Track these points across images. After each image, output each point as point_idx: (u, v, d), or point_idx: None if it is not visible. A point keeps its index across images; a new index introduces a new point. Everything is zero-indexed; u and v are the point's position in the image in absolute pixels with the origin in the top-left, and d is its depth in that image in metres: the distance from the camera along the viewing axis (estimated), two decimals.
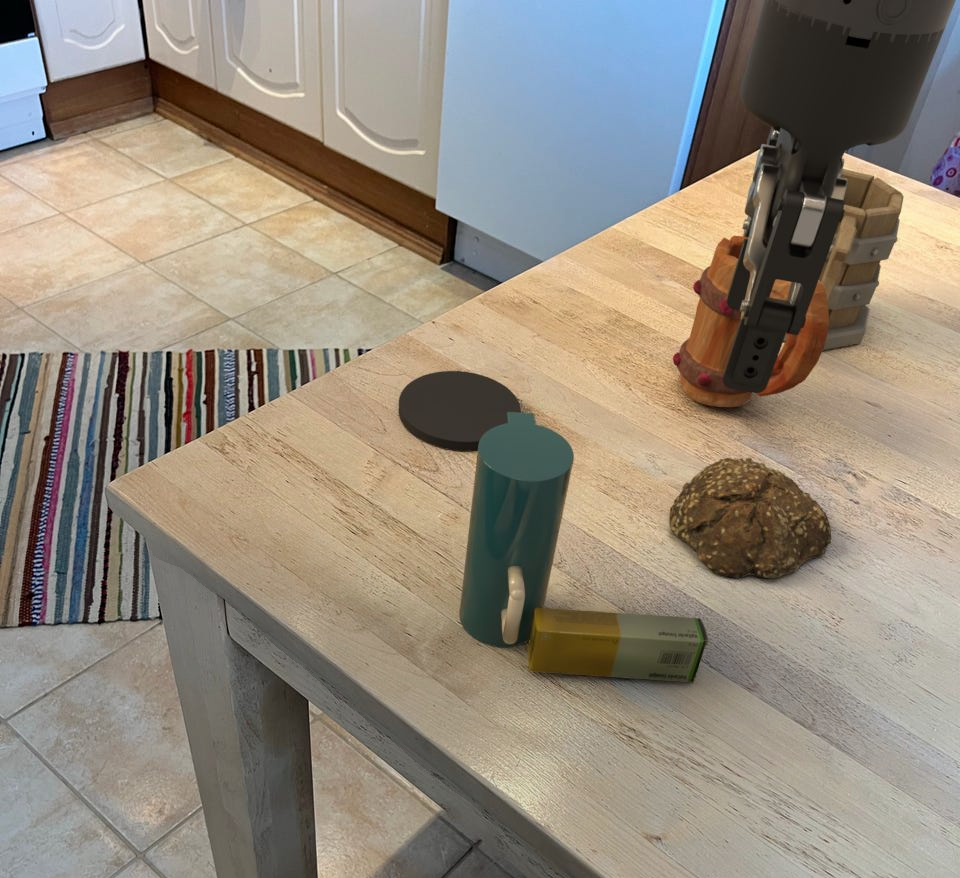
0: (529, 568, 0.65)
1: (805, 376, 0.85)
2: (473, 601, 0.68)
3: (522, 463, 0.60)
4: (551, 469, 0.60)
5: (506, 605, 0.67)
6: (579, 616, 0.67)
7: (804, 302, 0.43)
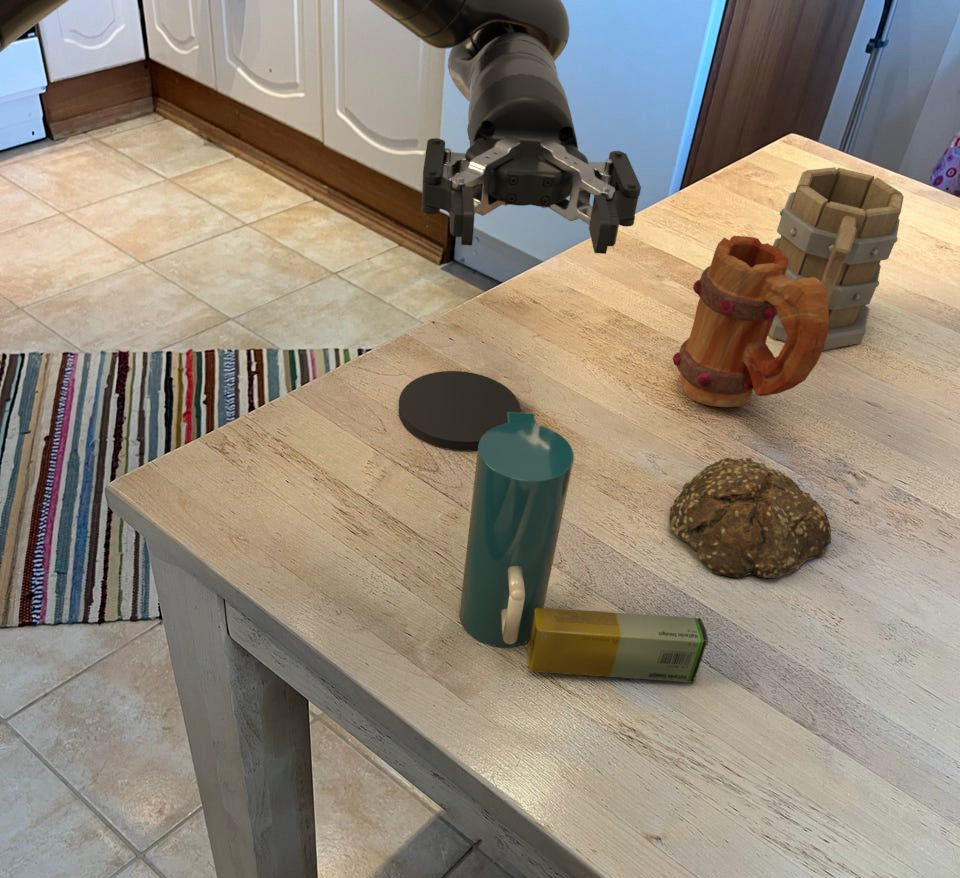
0: (529, 568, 0.65)
1: (805, 376, 0.85)
2: (473, 601, 0.68)
3: (522, 463, 0.60)
4: (551, 469, 0.60)
5: (506, 605, 0.67)
6: (579, 616, 0.67)
7: None
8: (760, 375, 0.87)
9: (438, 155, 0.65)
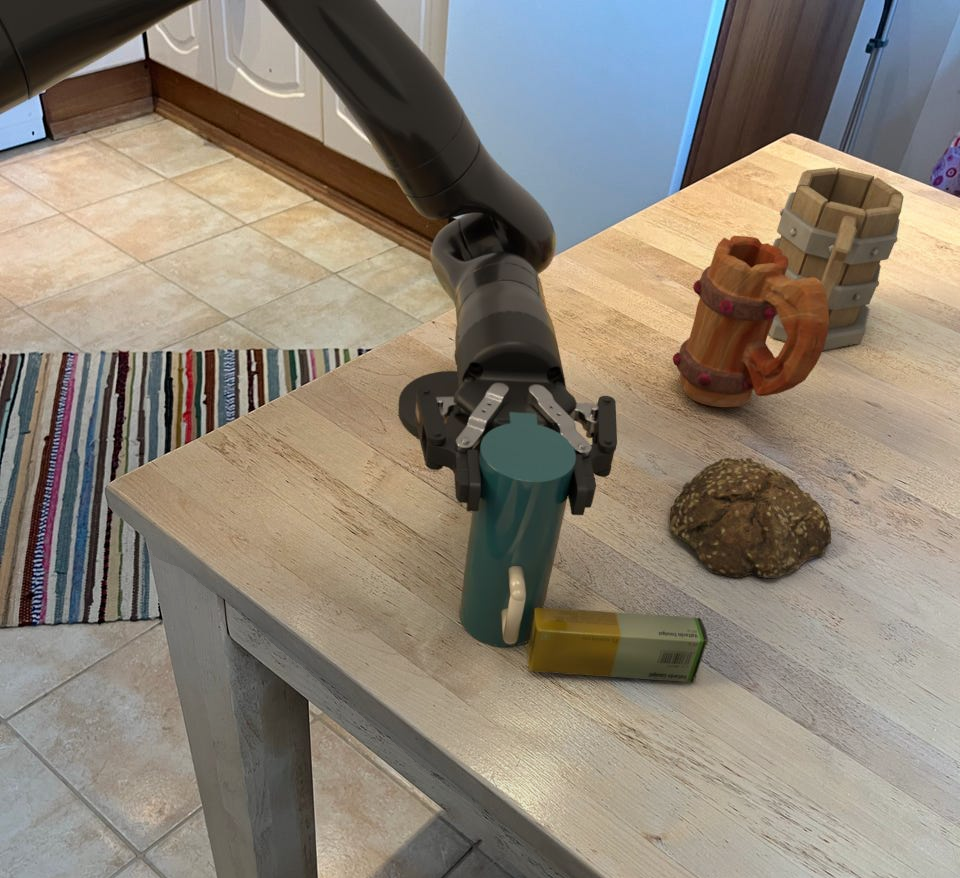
0: (530, 568, 0.65)
1: (805, 376, 0.85)
2: (474, 601, 0.68)
3: (524, 463, 0.60)
4: (553, 470, 0.60)
5: (506, 605, 0.67)
6: (579, 616, 0.67)
7: None
8: (760, 375, 0.87)
9: (434, 409, 0.64)
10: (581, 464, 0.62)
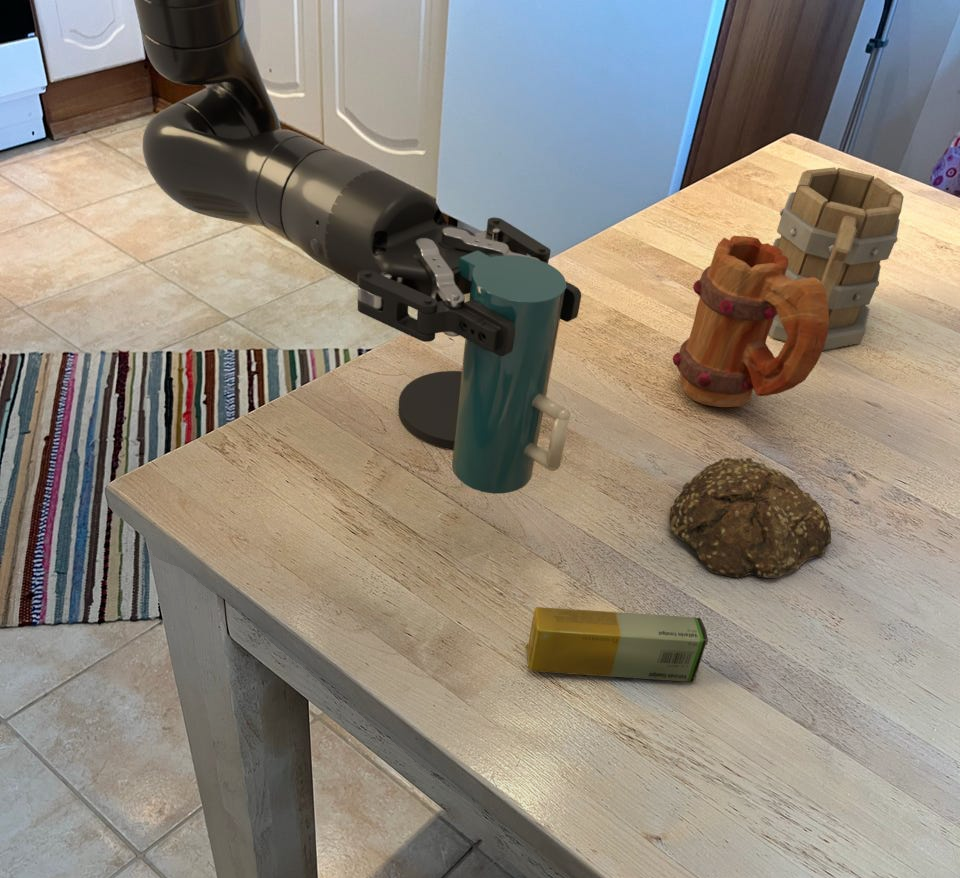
0: (545, 392, 0.67)
1: (805, 376, 0.85)
2: (495, 454, 0.68)
3: (531, 287, 0.61)
4: (555, 282, 0.62)
5: (528, 441, 0.68)
6: (579, 616, 0.67)
7: None
8: (760, 375, 0.87)
9: (395, 284, 0.61)
10: None
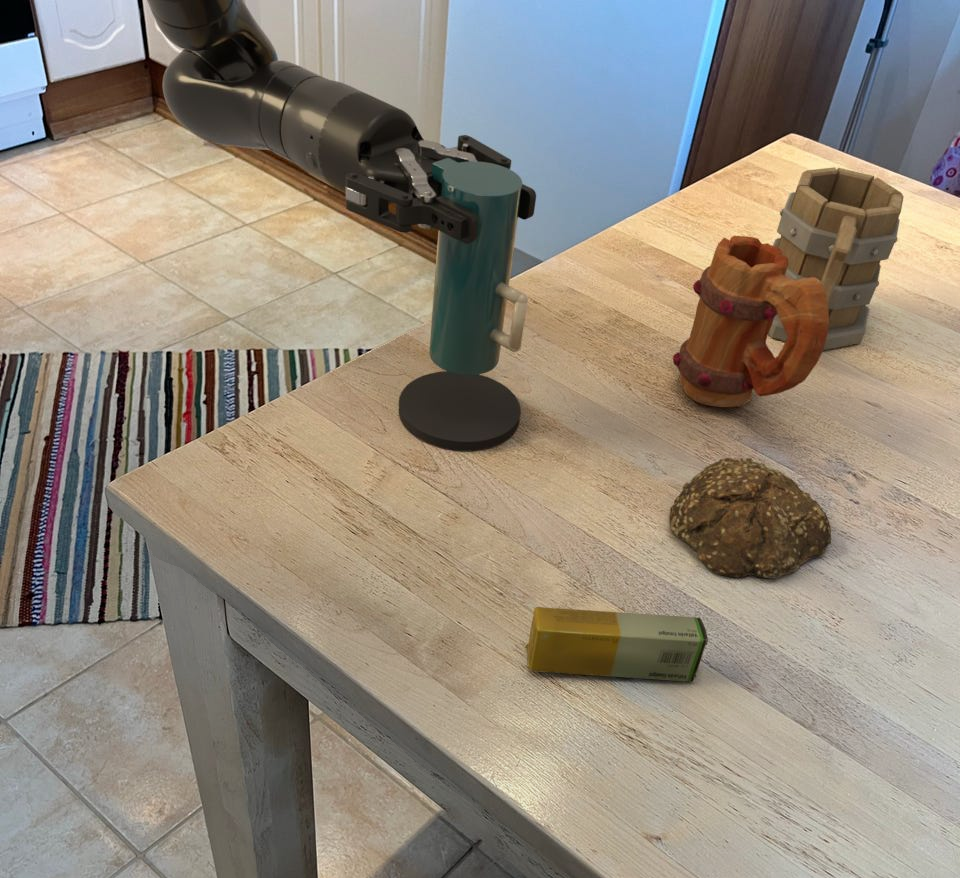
0: (507, 282, 0.78)
1: (805, 376, 0.85)
2: (465, 338, 0.80)
3: (492, 185, 0.72)
4: (512, 182, 0.73)
5: (493, 326, 0.80)
6: (579, 616, 0.67)
7: None
8: (760, 375, 0.87)
9: (377, 183, 0.73)
10: None
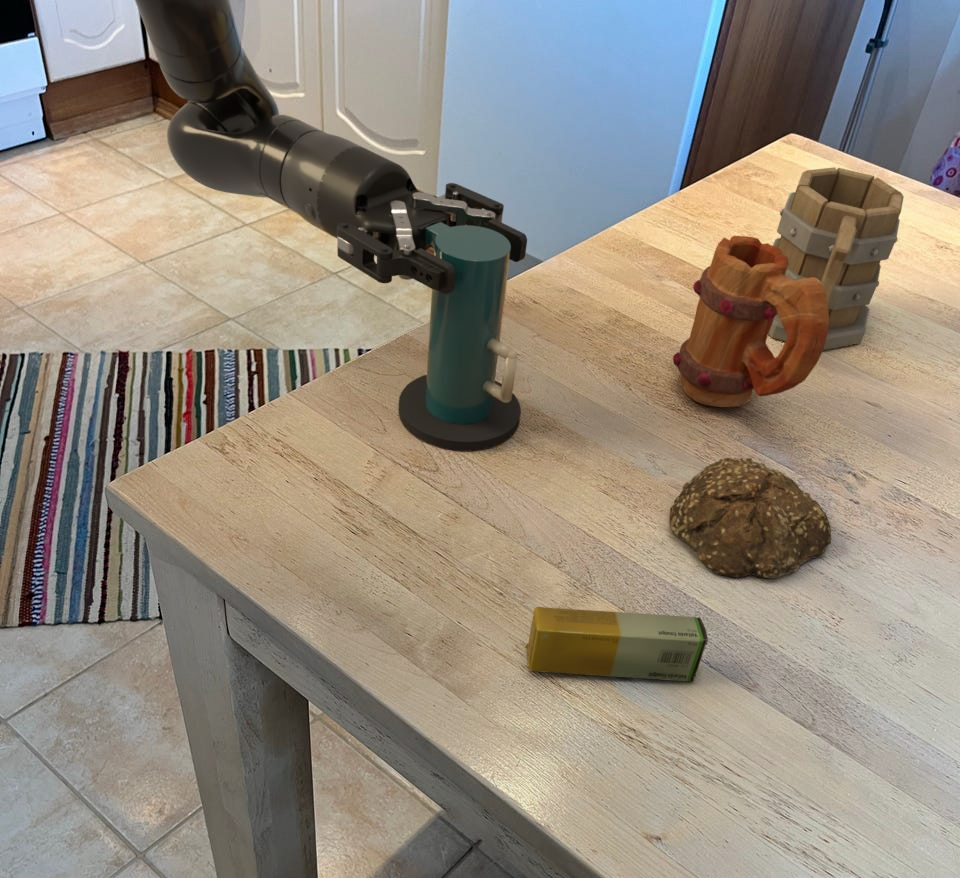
0: (497, 337, 0.82)
1: (805, 376, 0.85)
2: (459, 390, 0.83)
3: (482, 250, 0.76)
4: (501, 246, 0.77)
5: (486, 378, 0.84)
6: (579, 616, 0.67)
7: None
8: (760, 375, 0.87)
9: (364, 235, 0.76)
10: (502, 223, 0.80)
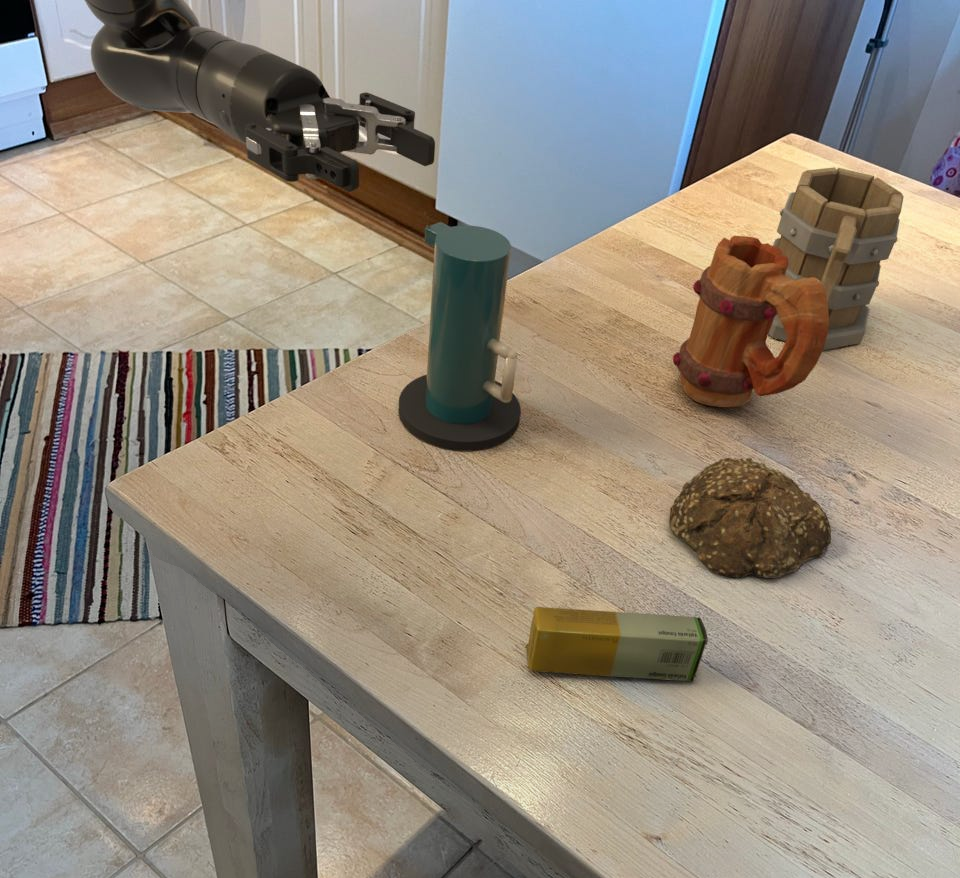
0: (497, 337, 0.82)
1: (805, 376, 0.85)
2: (459, 390, 0.83)
3: (482, 250, 0.76)
4: (501, 246, 0.77)
5: (486, 378, 0.84)
6: (579, 616, 0.67)
7: None
8: (760, 375, 0.87)
9: (270, 134, 0.77)
10: (411, 128, 0.81)
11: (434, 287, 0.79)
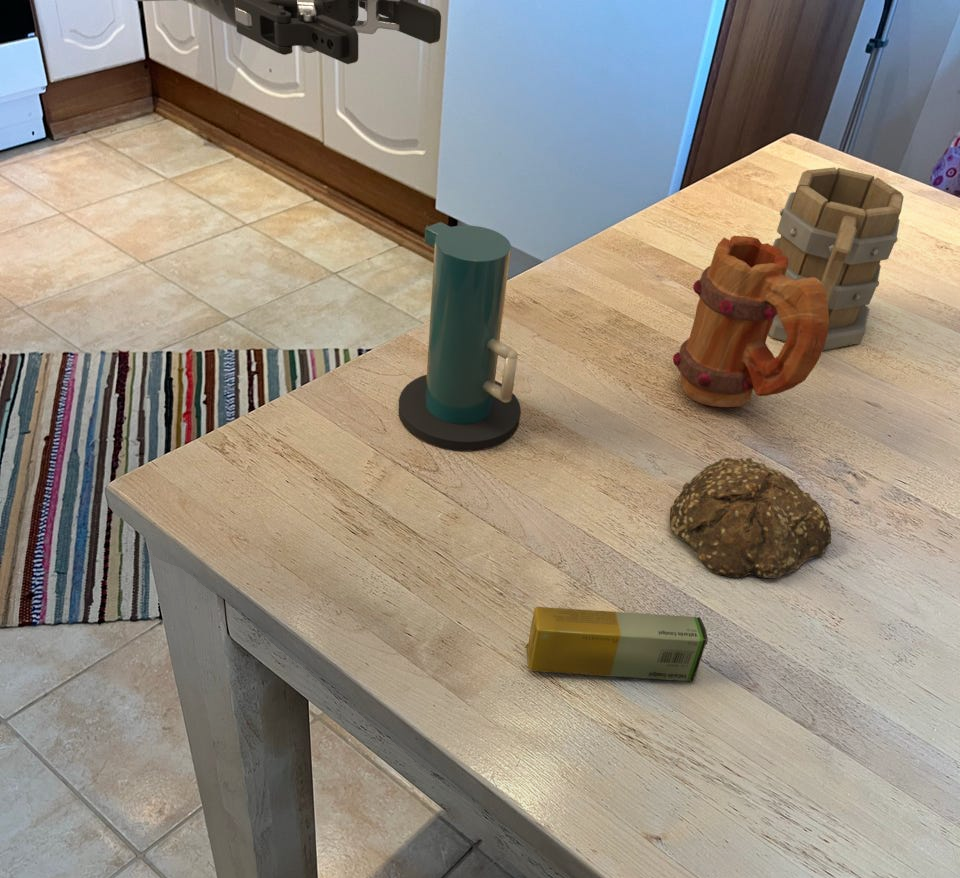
0: (497, 337, 0.82)
1: (805, 376, 0.85)
2: (459, 390, 0.83)
3: (482, 250, 0.76)
4: (501, 246, 0.77)
5: (486, 378, 0.84)
6: (579, 616, 0.67)
7: None
8: (760, 375, 0.87)
9: (262, 2, 0.71)
10: (415, 1, 0.75)
11: (434, 287, 0.79)
